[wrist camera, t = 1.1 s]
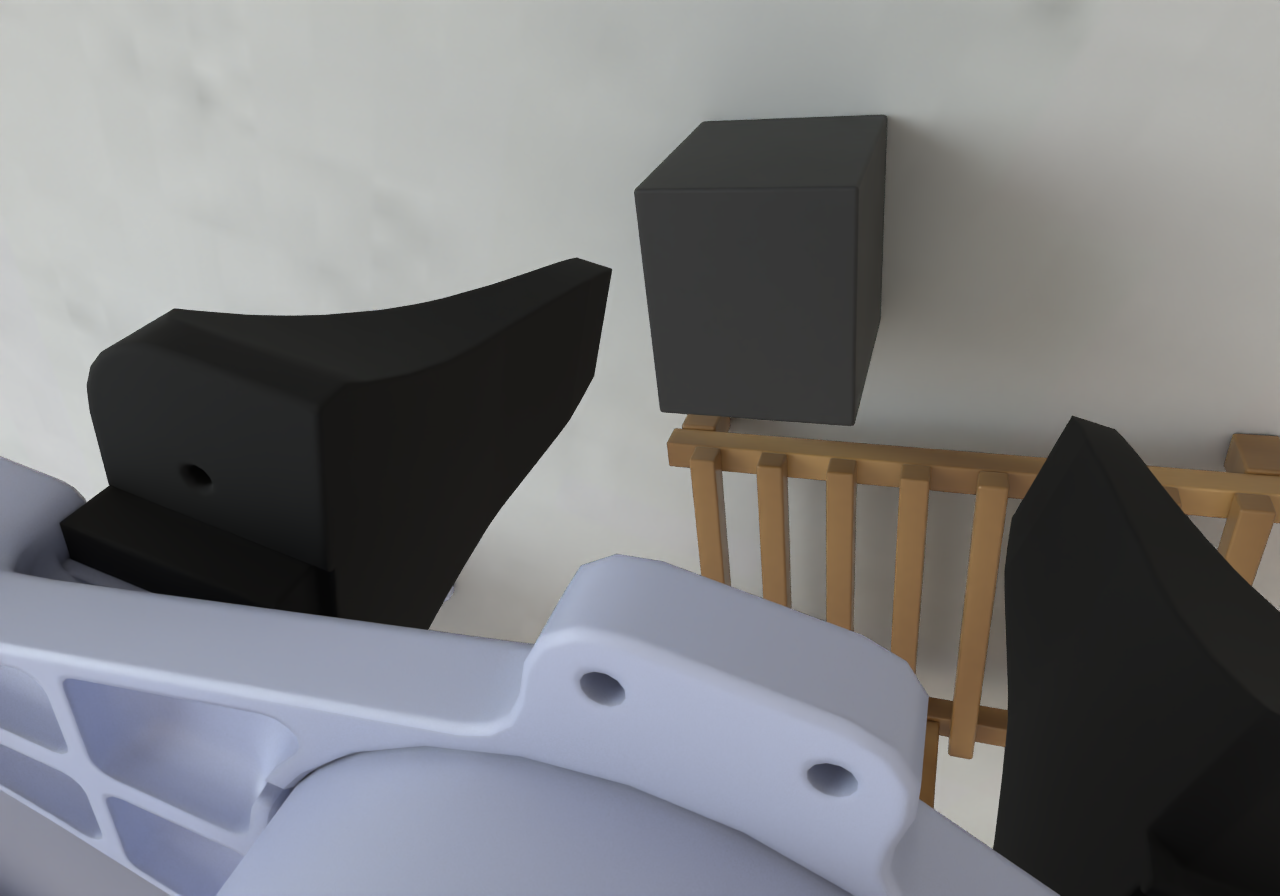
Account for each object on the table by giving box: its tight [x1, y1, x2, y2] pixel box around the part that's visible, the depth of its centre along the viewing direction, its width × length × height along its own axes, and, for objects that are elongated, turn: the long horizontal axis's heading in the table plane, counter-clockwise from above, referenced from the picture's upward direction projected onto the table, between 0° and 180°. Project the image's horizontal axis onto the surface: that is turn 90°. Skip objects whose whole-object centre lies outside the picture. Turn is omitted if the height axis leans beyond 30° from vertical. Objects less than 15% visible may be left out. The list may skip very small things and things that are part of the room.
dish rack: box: [667, 414, 1280, 809], centre depth 24 cm, size 15×10×6 cm
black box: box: [634, 115, 887, 426], centre depth 20 cm, size 4×5×5 cm
